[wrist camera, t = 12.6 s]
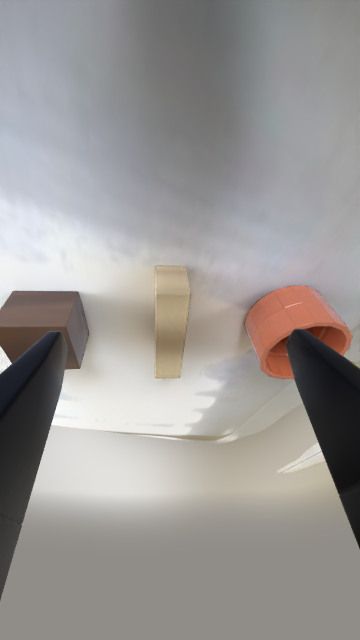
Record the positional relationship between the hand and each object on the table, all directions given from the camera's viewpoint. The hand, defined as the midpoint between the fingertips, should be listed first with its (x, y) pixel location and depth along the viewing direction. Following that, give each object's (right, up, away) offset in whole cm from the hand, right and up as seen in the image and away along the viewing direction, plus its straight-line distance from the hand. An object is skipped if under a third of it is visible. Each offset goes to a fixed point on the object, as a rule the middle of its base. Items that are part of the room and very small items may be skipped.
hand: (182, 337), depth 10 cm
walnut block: (-12, +1, +14) cm, 19 cm away
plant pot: (+11, +1, +17) cm, 20 cm away
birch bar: (-1, +1, +15) cm, 15 cm away
